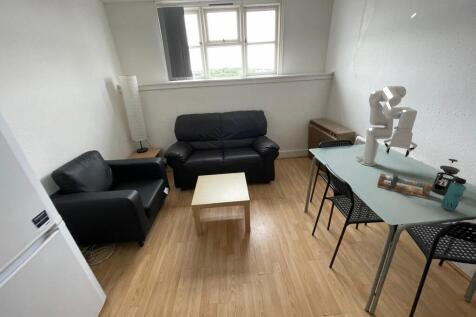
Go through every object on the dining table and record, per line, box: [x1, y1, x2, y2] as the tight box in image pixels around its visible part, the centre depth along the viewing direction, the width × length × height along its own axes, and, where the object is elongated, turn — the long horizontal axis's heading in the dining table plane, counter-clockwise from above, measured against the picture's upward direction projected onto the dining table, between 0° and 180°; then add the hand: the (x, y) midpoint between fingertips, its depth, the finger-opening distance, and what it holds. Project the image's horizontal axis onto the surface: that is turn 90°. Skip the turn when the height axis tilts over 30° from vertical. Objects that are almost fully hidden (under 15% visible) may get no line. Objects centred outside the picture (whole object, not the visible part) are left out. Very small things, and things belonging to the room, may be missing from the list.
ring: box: [390, 171, 400, 188], centre depth 138 cm, size 2×8×8 cm, turn 145°
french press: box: [430, 158, 461, 196], centre depth 129 cm, size 12×9×23 cm
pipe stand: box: [376, 172, 433, 200], centre depth 136 cm, size 27×10×8 cm, turn 55°
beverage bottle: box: [440, 177, 467, 211], centre depth 114 cm, size 6×7×20 cm
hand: (396, 155), depth 134 cm, fingers open, 9 cm apart
